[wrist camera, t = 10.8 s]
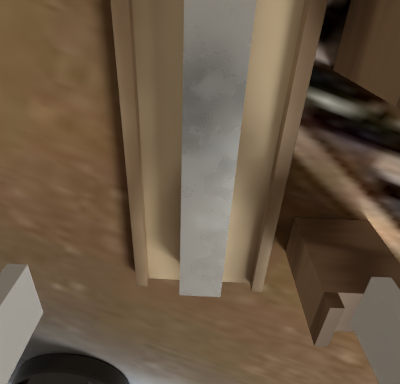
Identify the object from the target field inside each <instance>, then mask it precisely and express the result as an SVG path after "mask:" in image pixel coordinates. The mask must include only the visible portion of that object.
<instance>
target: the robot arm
mask: <svg viewBox="0 0 400 384" xmlns="http://www.w3.org/2000/svg"><path fill="white" fill-rule="evenodd" d="M42 314H43V310H42V307H41V304H40V301H39V298H38V295H37V292H36V289H35V286H34V283H33V280H32V277H31V274H30V271H29V268H28V265H22V264H7V265H6V266H5V267H4V269H3V270H2V271H1V273H0V384H7V383H8V381H9V379H10V377H11V375H12V373H13V371H14V369H15V367H16V365H17V363H18V361H19V359H20V357H21V355H22V353H23V351H24V349H25V347H26V345H27V344H28V342H29V340H30V338H31V336H32V334H33V332H34V330H35V328H36V326H37V324H38V322H39V320H40V318H41V316H42ZM350 323H351V325H352V327H353V329H354V331H355V333H356V335H357V337H358V340H359V342H360V344H361V346H362V348H363V350H364V352H365V354H366V357H367V359H368V361H369V363H370V365H371V367H372V369H373V371H374V374H375V376H376V378H377V380H378V382H379V384H400V289H399V288H398V286H397V285H396V284H395V282H394V281H393V279H392V278H390V277H371V279H370V282H369V284H368V286H367V288H366V290H365V292H364V294H363V296H362V299H361V301H360V303H359V305H358V307H357V309H356V311H355V314H354V316H353V318H352V320H351V322H350ZM12 384H129V382H128V380H127V379H126V377H125V376H124V375H123V374H122V373H120V372H119V371H118V370H116V369H115V368H113V367H112V366H110V365H108V364H106V363H103V362H101V361H98V360H95V359H92V358H88V357H84V356H79V355H71V354H49V355H43V356H39V357H35V358H33V359H30V360H29V361H27V362H25V363H24V364H23V365H22V366H21V367H20V369H19V371H18V373H17V375H16V377H15V379H14V381H13V383H12Z"/></svg>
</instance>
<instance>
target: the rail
mask: <svg viewBox="0 0 400 384" xmlns="http://www.w3.org/2000/svg"><path fill="white" fill-rule="evenodd" d="M256 1H257V0H184V43H183V106H182V169H181V231H180V294H179V295H189V296H211V297H220V296H221V288H222V279H223V271H224V263H225V255H226V247H227V239H228V230H229V222H230V214H231V206H232V198H233V190H234V181H235V173H236V165H237V157H238V149H239V140H240V132H241V124H242V116H243V108H244V100H245V91H246V83H247V75H248V67H249V59H250V50H251V42H252V34H253V26H254V18H255V10H256Z"/></svg>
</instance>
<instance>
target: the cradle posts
mask: <svg viewBox="0 0 400 384" xmlns="http://www.w3.org/2000/svg"><path fill="white" fill-rule="evenodd" d="M333 70H334V71H336V72H338V73H339V74H341V75H343V76H344V77H346V78H348V79H350V80H351V81H353V82H355V83H356V84H358V85H360V86H362V87H363V88H365V89H367V90H368V91H370V92H372V93H374V94H375V95H377V96H379V97H380V98H382V99H384V100H386V101H387V102H389V103H391V104H392V105H394V106H396V107H398V108H399V109H400V0H351V2H350V6H349V10H348V14H347V17H346V21H345V25H344V29H343V33H342V37H341V40H340V44H339V48H338V52H337V56H336V60H335V63H334V67H333ZM285 252H286V255H287V258H288V261H289V265H290V268H291V271H292V274H293V278H294V281H295V284H296V287H297V291H298V294H299V297H300V301H301V304H302V307H303V310H304V314H305V317H306V320H307V323H308V327H309V330H310V333H311V336H312V340H313V343H314V346H328V344H329V342H330V340H331V338H332V336H333V334H334V331H347V332H355V331H354V329H353V327H352V325H351V323H350V322H351V320H352V318H353V316H354V314H355V311H356V309H357V307H358V305H359V303H360V301H361V299H362V296H363V294H364V292H365V290H366V288H367V286H368V284H369V282H370V279H371V277H390V278H392V279H393V281H394V282H395V284H396V285H397V286H398V288H399V289H400V264H399V262H398V261H397V260H396V258H395V257H394V255H393V254H392V253H391V251H390V250H389V248H388V247H387V246H386V244H385V243H384V242H383V240H382V239H381V237H380V236H379V235H378V233H377V232H376V230H375V229H374V228H373V226H372V225H371V223H370V222H369V221H367V220H346V219H326V218H306V217H294V221H293V224H292V228H291V232H290V236H289V240H288V244H287V247H286V251H285Z"/></svg>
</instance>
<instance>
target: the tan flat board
mask: <svg viewBox="0 0 400 384" xmlns="http://www.w3.org/2000/svg"><path fill="white" fill-rule="evenodd" d="M110 1H111V12H112V23H113V34H114V45H115V56H116V66H117V77H118V88H119V99H120V110H121V121H122V132H123V142H124V153H125V164H126V175H127V186H128V197H129V208H130V218H131V229H132V240H133V251H134V262H135V273H136V284H137V286H147V284H148V280H149V278H157V279H178V280H180V231H181V169H182V106H183V43H184V0H110ZM327 2H328V0H257V1H256V10H255V18H254V26H253V34H252V42H251V50H250V59H249V67H248V75H247V83H246V91H245V100H244V108H243V116H242V124H241V132H240V140H239V149H238V157H237V165H236V173H235V181H234V190H233V198H232V206H231V214H230V222H229V230H228V239H227V247H226V255H225V263H224V271H223V279H222V282H241V283H250V285H251V291H260V292H262V289H263V284H264V280H265V275H266V271H267V266H268V262H269V258H270V253H271V249H272V244H273V240H274V236H275V231H276V227H277V222H278V218H279V214H280V209H281V205H282V200H283V196H284V192H285V187H286V183H287V178H288V174H289V170H290V165H291V161H292V156H293V152H294V148H295V143H296V139H297V134H298V130H299V126H300V121H301V117H302V112H303V108H304V104H305V99H306V95H307V90H308V86H309V82H310V77H311V73H312V68H313V64H314V59H315V55H316V51H317V46H318V42H319V37H320V33H321V29H322V24H323V20H324V15H325V11H326V7H327Z"/></svg>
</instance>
